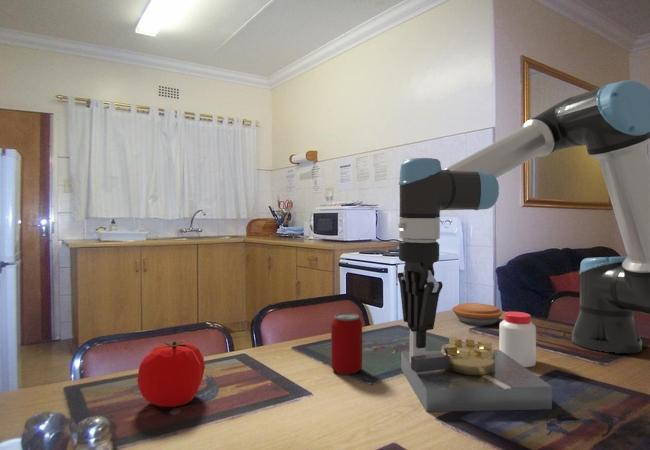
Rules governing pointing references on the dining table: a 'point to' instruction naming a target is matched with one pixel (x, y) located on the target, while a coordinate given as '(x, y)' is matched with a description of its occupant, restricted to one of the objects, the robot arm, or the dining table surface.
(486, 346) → the studded gold disc
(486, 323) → the pie
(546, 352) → the dining table surface
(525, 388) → the housing
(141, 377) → the tomato
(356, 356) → the beverage can
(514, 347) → the pill bottle
